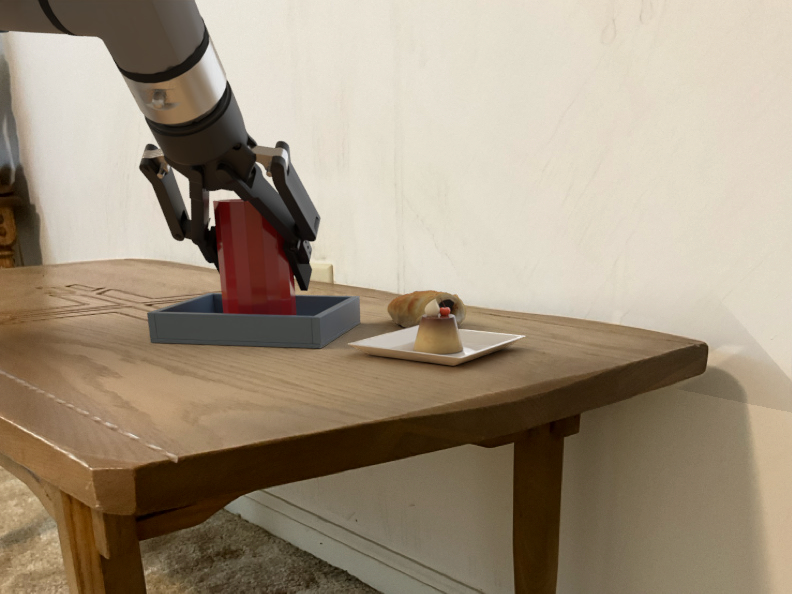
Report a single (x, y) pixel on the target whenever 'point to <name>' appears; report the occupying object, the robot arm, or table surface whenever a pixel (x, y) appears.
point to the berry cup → (251, 262)
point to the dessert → (436, 340)
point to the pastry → (423, 306)
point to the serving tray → (255, 323)
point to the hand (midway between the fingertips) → (269, 279)
